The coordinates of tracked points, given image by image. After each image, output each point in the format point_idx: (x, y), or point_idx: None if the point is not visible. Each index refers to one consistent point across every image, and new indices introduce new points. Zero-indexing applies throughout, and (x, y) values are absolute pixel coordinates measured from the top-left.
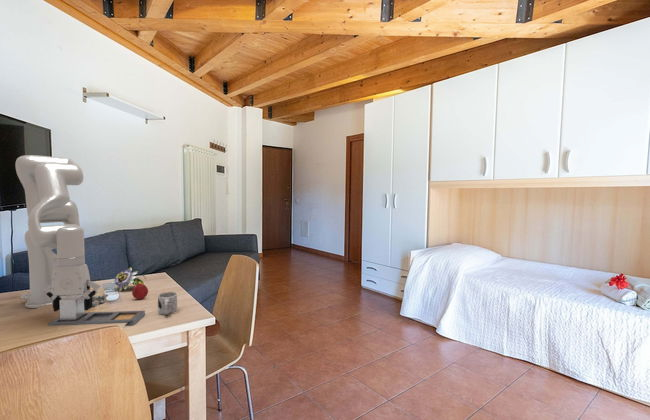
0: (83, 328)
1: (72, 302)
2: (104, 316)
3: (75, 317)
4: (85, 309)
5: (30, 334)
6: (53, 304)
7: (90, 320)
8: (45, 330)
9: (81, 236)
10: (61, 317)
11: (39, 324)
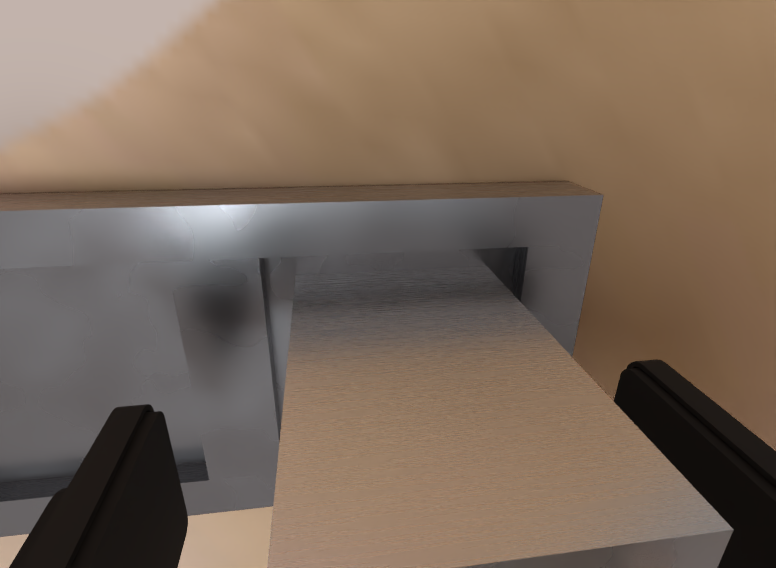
0: (113, 146)
1: (360, 500)
2: (50, 436)
3: (300, 303)
4: (125, 413)
5: (683, 11)
6: (764, 445)
7: (139, 323)
8: (568, 124)
9: None
10: (496, 296)
11: (697, 292)
